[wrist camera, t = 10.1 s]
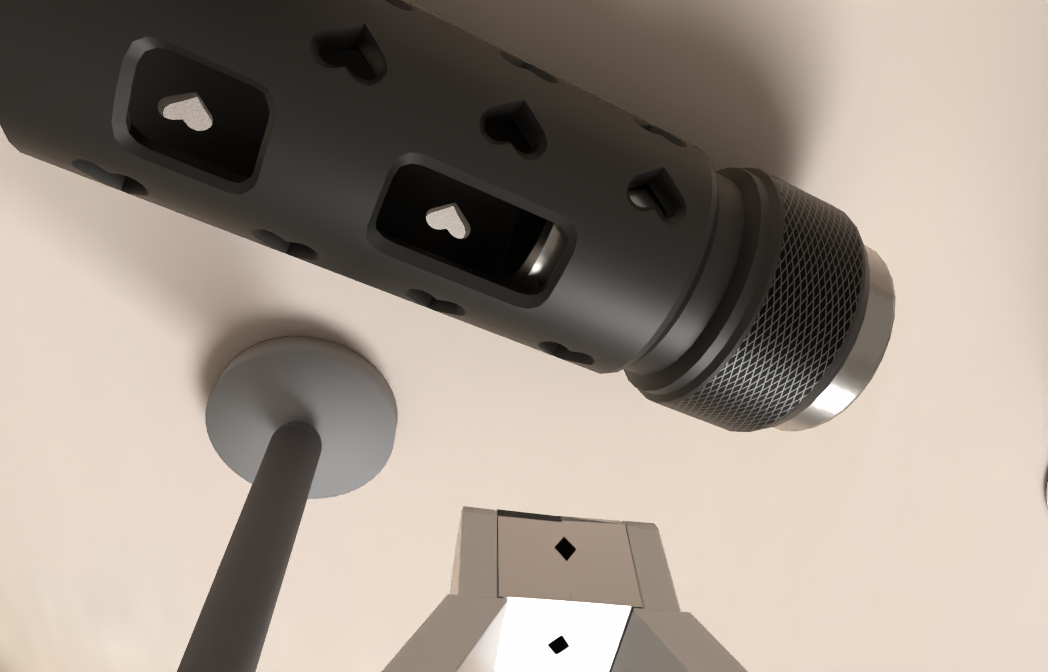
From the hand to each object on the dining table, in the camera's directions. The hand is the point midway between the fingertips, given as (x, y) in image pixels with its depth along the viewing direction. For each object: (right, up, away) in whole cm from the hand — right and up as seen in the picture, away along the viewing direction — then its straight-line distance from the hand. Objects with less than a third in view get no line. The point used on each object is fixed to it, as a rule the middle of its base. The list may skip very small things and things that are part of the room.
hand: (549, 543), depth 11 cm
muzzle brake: (-2, +11, +19) cm, 22 cm away
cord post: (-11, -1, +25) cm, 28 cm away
